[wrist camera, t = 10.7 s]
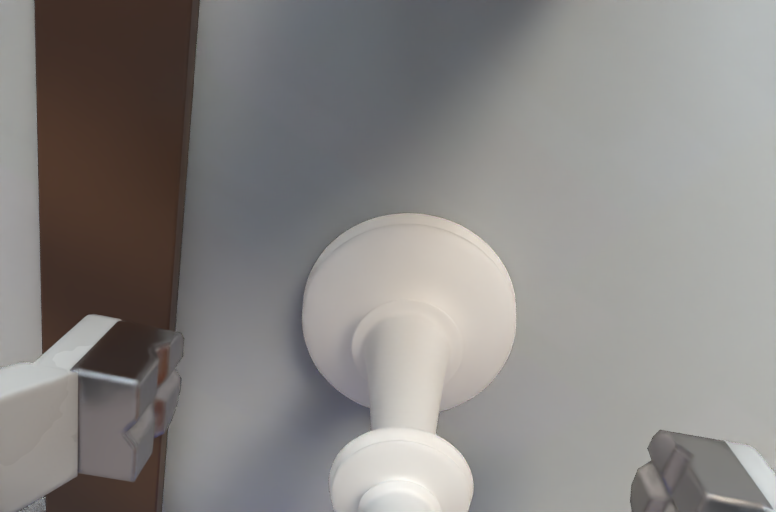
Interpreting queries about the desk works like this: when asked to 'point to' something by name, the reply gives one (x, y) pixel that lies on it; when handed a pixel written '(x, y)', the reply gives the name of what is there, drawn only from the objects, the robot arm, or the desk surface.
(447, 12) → the desk surface
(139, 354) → the robot arm
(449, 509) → the chess piece
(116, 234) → the ruler
